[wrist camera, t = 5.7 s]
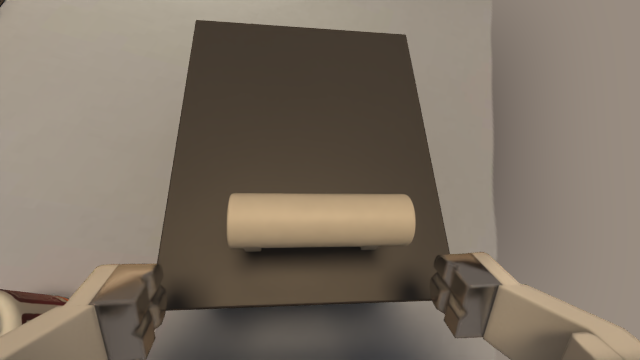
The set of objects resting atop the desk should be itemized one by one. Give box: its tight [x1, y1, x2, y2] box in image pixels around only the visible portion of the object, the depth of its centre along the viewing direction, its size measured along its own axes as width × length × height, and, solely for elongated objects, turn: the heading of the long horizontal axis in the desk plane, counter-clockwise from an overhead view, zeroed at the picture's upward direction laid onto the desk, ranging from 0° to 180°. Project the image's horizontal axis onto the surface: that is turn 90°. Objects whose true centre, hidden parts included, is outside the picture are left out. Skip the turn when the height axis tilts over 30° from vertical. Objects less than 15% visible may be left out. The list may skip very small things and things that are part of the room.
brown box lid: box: [157, 20, 450, 311], centre depth 15 cm, size 16×13×5 cm
